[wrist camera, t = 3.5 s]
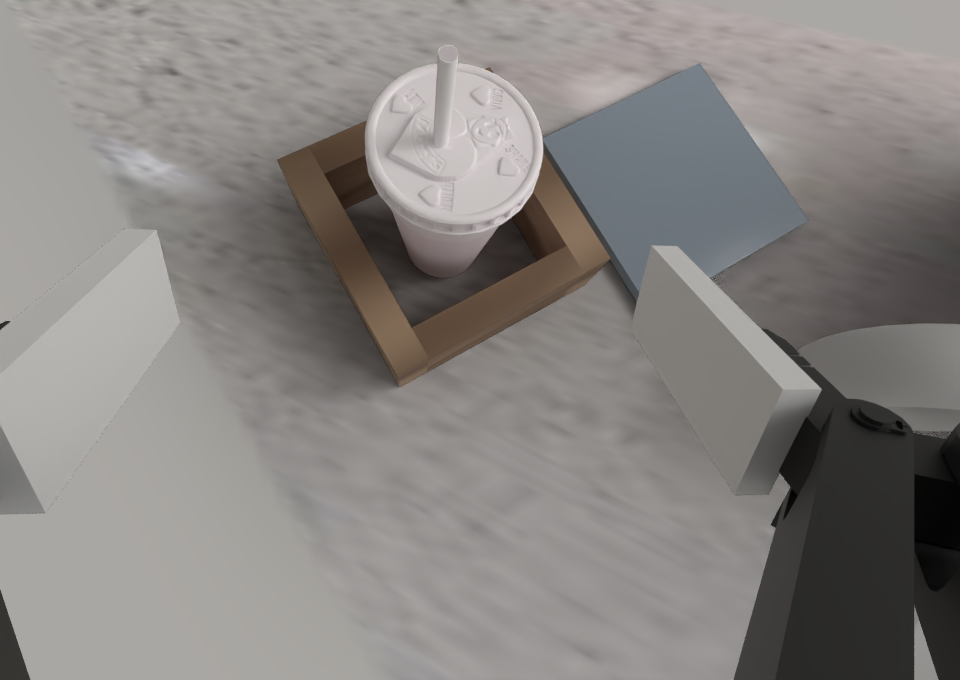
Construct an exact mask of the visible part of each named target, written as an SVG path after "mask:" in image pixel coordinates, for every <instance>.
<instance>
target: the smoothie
mask: <svg viewBox="0 0 960 680" xmlns="http://www.w3.org/2000/svg"><path fill="white" fill-rule="evenodd" d="M365 156H366V162H367V168H368V174H369V176H370V178H371V180H372V182H373V184H374V186H375V188H376V190H377V192H378V194H379V195H380V197H381V198H382V199H383V200H384V201H385V202H386V204H387V205H388V206H389V207H390V208H391V210H392V213H393V215H394V218H395V220H396V223H397V226H398V228H399V231H400V233H401V236H402V238H403V241H404V244H405V246H406V249H407V251H408V254H409V257H410V259H411V260H412V262H413V263H414V264H415V266H416V267H417V268H419V269H420V270H421V271H422V272H424V273H426V274H428V275H431V276H434V277H440V278H447V277H452V276H456V275H458V274H460V273H462V272H463V271H465V270H466V269H467V268H468V267H469V266H470V265H471V264H472V262H473V261H474V260H475V258H476V257H477V255H478V254H479V253H480V251H481V250H482V249H483V247H484V246H485V244H486V243H487V242H488V240H489V239H490V238H491V236H492V235H493V233H494V232H495V231H496V229H497V228H498V227H499V225H502V224H503V223H505V222H506V221H507V220H509V219H510V218H511V217H512V216H514V215H515V214H516V213H518V212H519V211H520V210H521V208H522V207H523V206H524V204H525V203H526V202H527V200H528V199H529V198H530V196H531V195H532V193H533V190H534V187H535V185H536V182H537V179H538V176H539V171H540V168H541V164H542V159H543V138H542V133H541V128H540V125H539V122H538V120H537V117H536V115H535V113H534V111H533V109H532V108H531V106H530V105H529V103H528V102H527V100H526V99H525V98H524V97H523V96H522V94H521V93H520V92H519V91H518V90H517V89H516V88H515V87H513V86H512V85H511V84H510V83H508V82H507V81H506V80H504V79H503V78H501V77H499V76H498V75H496V74H494V73H492V72H490V71H488V70H485V69H482V68H480V67H476V66H473V65H468V64H463V63H458V51H457V49H456V48H455V47H453V46H451V45H444V46H442V47H440V49H439V50H438V61H437V63H435V64H429V65H425V66H421V67H418V68H415V69H413V70H411V71H408V72H406V73H404V74H403V75H401V76H399V77H398V78H397V79H395V80H394V81H392V82H391V83H390V84H389V85H388V86H387V87H386V88H385V89H384V90H383V91H382V92H381V94H380V95H379V96H378V98H377V99H376V101H375V102H374V104H373V106H372V108H371V111H370V113H369V116H368V119H367V123H366V128H365Z"/></svg>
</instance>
